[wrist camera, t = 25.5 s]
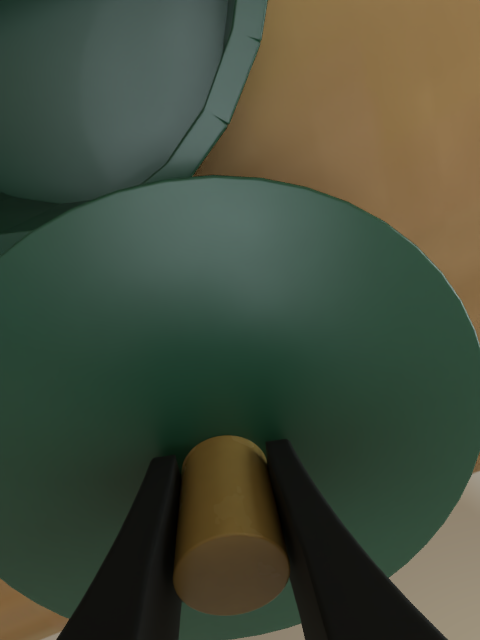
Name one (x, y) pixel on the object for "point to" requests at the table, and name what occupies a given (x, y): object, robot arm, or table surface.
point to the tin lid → (225, 388)
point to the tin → (113, 96)
